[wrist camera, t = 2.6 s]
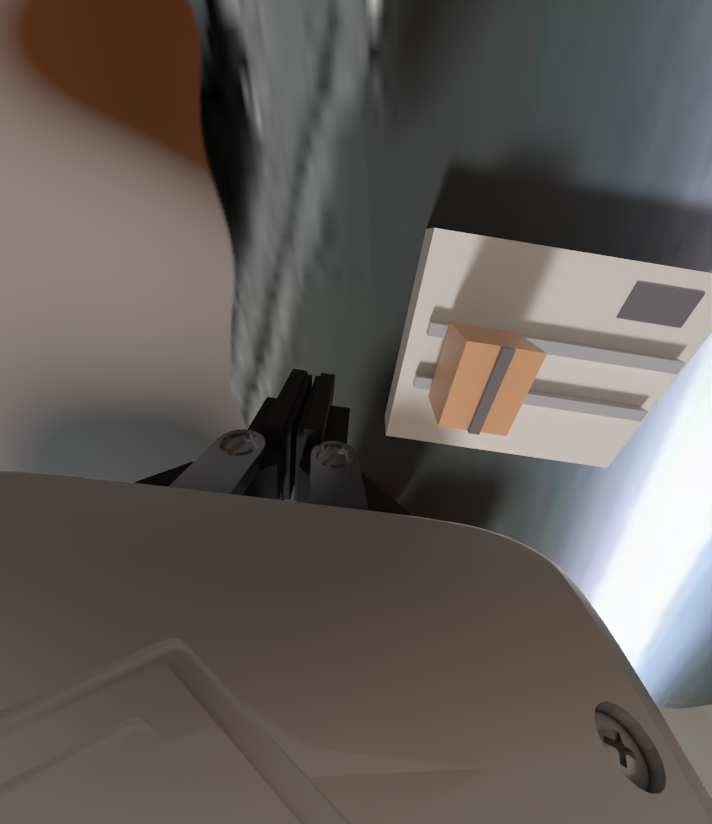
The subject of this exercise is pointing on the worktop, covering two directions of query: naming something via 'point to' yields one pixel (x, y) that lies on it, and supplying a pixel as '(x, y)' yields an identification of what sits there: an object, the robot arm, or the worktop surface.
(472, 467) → the worktop surface
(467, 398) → the fader knob
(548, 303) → the panel
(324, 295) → the worktop surface
